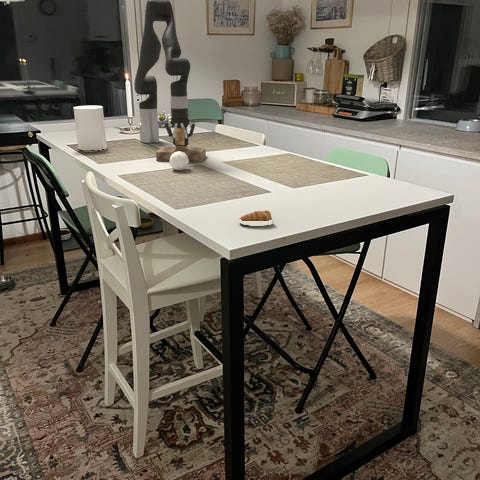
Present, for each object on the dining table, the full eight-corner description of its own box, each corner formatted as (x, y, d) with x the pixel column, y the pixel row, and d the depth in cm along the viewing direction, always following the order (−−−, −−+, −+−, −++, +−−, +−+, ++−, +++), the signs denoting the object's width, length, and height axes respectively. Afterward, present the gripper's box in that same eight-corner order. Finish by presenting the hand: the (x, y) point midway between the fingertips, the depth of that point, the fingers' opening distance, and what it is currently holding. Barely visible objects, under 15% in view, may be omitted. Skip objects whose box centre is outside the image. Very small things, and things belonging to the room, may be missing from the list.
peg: (175, 155, 219) (174, 128, 215) (177, 153, 223) (176, 126, 218) (184, 155, 219) (183, 128, 214) (186, 153, 222) (185, 126, 218)
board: (156, 160, 217) (155, 151, 215) (163, 155, 228) (163, 146, 227) (200, 162, 215) (200, 153, 213) (205, 156, 226) (205, 147, 224)
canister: (99, 151, 235) (94, 109, 228) (73, 150, 238) (68, 108, 230) (111, 146, 247) (107, 105, 240) (86, 145, 250) (82, 105, 242)
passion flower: (162, 136, 306) (150, 121, 301) (165, 130, 315) (153, 115, 310) (176, 126, 302) (164, 110, 297) (178, 120, 312) (166, 105, 307)
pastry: (242, 229, 137) (242, 216, 136) (236, 221, 143) (236, 209, 142) (274, 226, 140) (274, 214, 138) (267, 219, 146) (267, 207, 144)
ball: (181, 177, 201) (179, 164, 194) (167, 168, 203) (164, 155, 197) (193, 165, 204) (191, 153, 197) (179, 157, 207) (176, 144, 200)
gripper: (161, 107, 210) (163, 147, 217) (193, 108, 209) (194, 148, 215) (165, 105, 217) (167, 144, 224) (197, 106, 216) (198, 144, 222)
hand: (181, 145), depth 219 cm, fingers closed on peg, 4 cm apart
